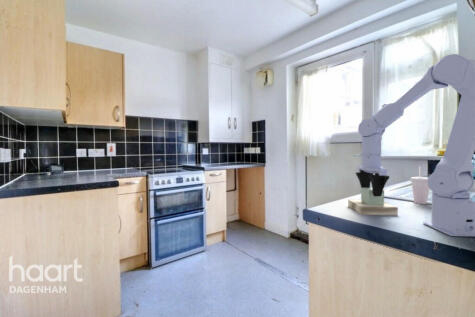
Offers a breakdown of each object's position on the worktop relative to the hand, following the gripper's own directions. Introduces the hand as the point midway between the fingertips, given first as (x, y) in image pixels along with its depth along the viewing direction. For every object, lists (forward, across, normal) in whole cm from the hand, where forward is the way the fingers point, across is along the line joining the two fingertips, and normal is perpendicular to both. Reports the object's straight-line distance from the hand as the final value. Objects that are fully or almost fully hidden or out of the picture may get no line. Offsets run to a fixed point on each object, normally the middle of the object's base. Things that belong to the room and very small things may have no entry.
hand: (371, 193), depth 77 cm
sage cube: (+3, 0, 0) cm, 3 cm away
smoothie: (+6, +9, -23) cm, 26 cm away
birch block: (+6, 0, 0) cm, 6 cm away
